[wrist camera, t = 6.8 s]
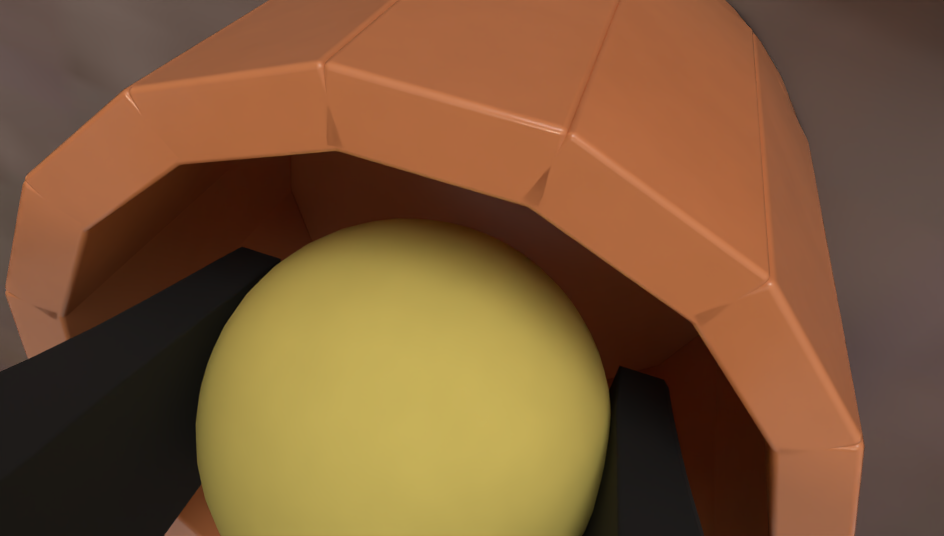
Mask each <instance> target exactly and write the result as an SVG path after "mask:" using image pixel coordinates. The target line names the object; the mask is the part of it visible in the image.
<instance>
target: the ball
mask: <svg viewBox="0 0 944 536" xmlns="http://www.w3.org/2000/svg"><path fill="white" fill-rule="evenodd" d="M610 419H611V406H610V396H609V387H608V383H607V380H606V376H605V372H604V368H603V365H602V361H601V358H600V354H599V351H598V349H597V347H596V344H595V342H594V340H593V338H592V335H591V333H590V331H589V329H588V328H587V326H586V324H585V322H584V320H583V319H582V317H581V315H580V314H579V312H578V311H577V309H576V307H575V306H574V304H573V303H572V301H571V300H570V299H569V298H568V296H567V295H566V294H565V293H564V292H563V290H562V289H561V288H560V287H559V286H558V285H557V284H556V283H555V282H554V281H553V280H552V279H551V278H550V277H549V276H548V275H547V274H546V273H545V272H544V271H543V270H542V269H541V268H540V267H539V266H538V265H536V264H535V263H534V262H533V261H531V260H530V259H529V258H527V257H526V256H525V255H524V254H522V253H521V252H519V251H517V250H516V249H514V248H512V247H511V246H509V245H508V244H506V243H504V242H502V241H500V240H498V239H496V238H494V237H492V236H490V235H488V234H485V233H482V232H480V231H477V230H474V229H471V228H468V227H465V226H461V225H457V224H453V223H449V222H443V221H435V220H428V219H403V218H396V219H387V220H378V221H372V222H368V223H363V224H359V225H355V226H351V227H347V228H343V229H340V230H338V231H336V232H333V233H331V234H329V235H326V236H324V237H322V238H320V239H317V240H315V241H313V242H311V243H309V244H307V245H305V246H304V247H302V248H301V249H299V250H297V251H296V252H294V253H293V254H291V255H290V256H288V257H287V258H286V259H284V260H283V261H281V262H280V263H279V264H277V265H276V266H275V267H273V268H272V269H271V270H270V271H269V272H268V273H267V274H266V275H265V276H264V277H263V278H262V279H261V280H260V281H259V282H258V283H257V284H256V285H255V286H254V287H253V288H252V289H251V290H250V291H249V292H248V293H247V294H246V296H245V297H244V298H243V300H242V301H241V303H240V304H239V306H238V307H237V308H236V310H235V311H234V313H233V314H232V316H231V317H230V318H229V320H228V321H227V323H226V324H225V326H224V327H223V330H222V332H221V334H220V336H219V338H218V340H217V342H216V344H215V346H214V348H213V351H212V353H211V356H210V358H209V361H208V363H207V367H206V370H205V374H204V377H203V380H202V384H201V388H200V394H199V400H198V408H197V416H196V424H195V425H196V450H197V465H198V469H199V474H200V479H201V483H202V488H203V492H204V496H205V500H206V502H207V505H208V507H209V510H210V512H211V515H212V517H213V519H214V522H215V524H216V527H217V529H218V531H219V533H220V535H221V536H582V535H583V533H584V532H585V530H586V527H587V525H588V522H589V520H590V517H591V515H592V512H593V509H594V505H595V501H596V498H597V494H598V490H599V486H600V482H601V478H602V474H603V469H604V464H605V458H606V451H607V445H608V439H609V431H610Z"/></svg>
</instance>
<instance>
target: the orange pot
mask: <svg viewBox="0 0 944 536" xmlns="http://www.w3.org/2000/svg"><path fill="white" fill-rule="evenodd" d="M396 218H403V219H428V220H435V221H443V222H449V223H453V224H457V225H461V226H465V227H468V228H471V229H474V230H477V231H480V232H482V233H485V234H488V235H490V236H492V237H494V238H496V239H498V240H500V241H502V242H504V243H506V244H508V245H509V246H511V247H512V248H514V249H516V250H517V251H519V252H521V253H522V254H524V255H525V256H526V257H527V258H529V259H530V260H531V261H533V262H534V263H535V264H536V265H538V266H539V267H540V268H541V269H542V270H543V271H544V272H545V273H546V274H547V275H548V276H549V277H550V278H551V279H552V280H553V281H554V282H555V283H556V284H557V285H558V286H559V287H560V288H561V289H562V290H563V292H564V293H565V294H566V295H567V296H568V298H569V299H570V300H571V301H572V303H573V304H574V306H575V307H576V309H577V311H578V312H579V314H580V315H581V317H582V319H583V320H584V322H585V324H586V326H587V328H588V329H589V331H590V333H591V335H592V338H593V340H594V342H595V344H596V347H597V349H598V351H599V354H600V358H601V361H602V365H603V368H604V372H605V376H606V380H607V383H608V387H609V389H610V387H611V384H612V382H613V380H614V377H615V375H616V373H617V370H618V368H619V366H622V367H626V368H629V369H632V370H635V371H638V372H641V373H645V374H648V375H651V376H654V377H657V378H660V379H664V380H665V382H666V384H667V386H668V387H669V392H670V398H671V404H672V410H673V415H674V421H675V426H676V430H677V435H678V440H679V444H680V448H681V453H682V457H683V461H684V465H685V469H686V473H687V477H688V481H689V484H690V488H691V492H692V496H693V499H694V502H695V506H696V509H697V512H698V516H699V519H700V523H701V526H702V529H703V533H704V536H855V531H856V521H857V512H858V503H859V494H860V485H861V476H862V466H863V457H864V448H865V445H864V440H863V434H862V429H861V424H860V418H859V413H858V407H857V402H856V397H855V391H854V386H853V380H852V375H851V369H850V364H849V359H848V353H847V348H846V342H845V337H844V332H843V326H842V321H841V315H840V310H839V305H838V299H837V294H836V288H835V283H834V277H833V272H832V267H831V261H830V256H829V250H828V245H827V240H826V234H825V229H824V223H823V218H822V213H821V207H820V202H819V196H818V191H817V185H816V180H815V175H814V169H813V164H812V158H811V153H810V149H809V144H808V141H807V139H806V136H805V134H804V132H803V130H802V128H801V126H800V124H799V122H798V120H797V117H796V113H795V111H794V108H793V106H792V103H791V101H790V98H789V95H788V93H787V90H786V88H785V85H784V83H783V80H782V77H781V76H780V74H779V72H778V71H777V69H776V67H775V65H774V64H773V62H772V60H771V59H770V57H769V55H768V53H767V52H766V50H765V48H764V47H763V45H762V43H761V42H760V40H759V39H758V38H757V36H756V35H755V34H754V33H753V31H752V29H751V28H750V27H749V26H748V25H747V24H746V23H745V22H744V20H743V19H742V18H741V17H740V16H739V14H738V13H737V12H736V11H735V9H734V8H733V7H732V6H731V5H730V4H729V3H727V2H726V1H725V0H269V1H267V2H265V3H264V4H262V5H260V6H259V7H257V8H256V9H254V10H252V11H251V12H249V13H247V14H246V15H244V16H243V17H241V18H239V19H238V20H236V21H234V22H233V23H231V24H230V25H228V26H226V27H225V28H223V29H221V30H220V31H218V32H217V33H215V34H213V35H212V36H210V37H208V38H207V39H205V40H203V41H202V42H200V43H199V44H197V45H195V46H194V47H192V48H190V49H189V50H187V51H186V52H184V53H182V54H181V55H179V56H177V57H176V58H174V59H173V60H171V61H169V62H168V63H166V64H164V65H163V66H161V67H160V68H158V69H156V70H155V71H153V72H151V73H150V74H148V75H147V76H145V77H143V78H142V79H140V80H138V81H137V82H135V83H134V84H132V85H130V86H129V87H127V88H125V89H124V90H123V91H121V92H120V93H119V94H118V95H117V96H116V97H115V98H114V99H112V100H111V101H110V102H109V103H108V104H107V105H106V106H104V107H103V108H102V109H101V110H100V111H99V112H98V113H96V114H95V115H94V116H93V117H92V118H91V119H90V120H88V121H87V122H86V123H85V124H84V125H83V126H82V127H80V128H79V129H78V130H77V131H76V132H75V133H74V134H73V135H71V136H70V137H69V138H68V139H67V140H66V141H65V142H63V143H62V144H61V145H60V146H59V147H58V148H57V149H55V150H54V151H53V152H52V153H51V154H50V155H49V156H47V157H46V158H45V159H44V160H43V161H42V162H41V163H40V164H38V165H37V166H36V167H35V168H34V169H33V170H32V171H30V172H29V173H28V174H27V176H26V177H25V181H24V183H23V186H22V192H21V198H20V204H19V209H18V215H17V221H16V227H15V233H14V238H13V244H12V250H11V256H10V262H9V267H8V273H7V279H6V285H5V288H6V292H5V295H6V298H7V301H8V303H9V306H10V309H11V312H12V315H13V318H14V321H15V324H16V327H17V329H18V332H19V335H20V338H21V341H22V344H23V347H24V350H25V352H26V355H27V358H28V359H29V358H31V357H34V356H36V355H38V354H40V353H42V352H44V351H46V350H48V349H50V348H52V347H54V346H56V345H58V344H60V343H62V342H64V341H66V340H69V339H71V338H73V337H75V336H77V335H79V334H81V333H83V332H85V331H87V330H89V329H91V328H93V327H95V326H97V325H99V324H101V323H103V322H105V321H107V320H108V319H110V318H112V317H114V316H116V315H118V314H120V313H121V312H123V311H125V310H127V309H129V308H131V307H133V306H135V305H136V304H138V303H140V302H142V301H144V300H146V299H148V298H150V297H151V296H153V295H155V294H157V293H159V292H160V291H162V290H164V289H166V288H168V287H169V286H171V285H173V284H175V283H177V282H178V281H180V280H182V279H184V278H186V277H187V276H189V275H191V274H193V273H195V272H196V271H198V270H200V269H202V268H204V267H205V266H207V265H209V264H211V263H213V262H214V261H216V260H218V259H220V258H222V257H224V256H225V255H227V254H229V253H231V252H233V251H235V250H236V249H238V248H240V247H245V248H248V249H251V250H254V251H258V252H261V253H264V254H267V255H270V256H273V257H277V258H280V259H281V261H283V260H284V259H286V258H287V257H288V256H290V255H291V254H293V253H294V252H296V251H297V250H299V249H301V248H302V247H304V246H305V245H307V244H309V243H311V242H313V241H315V240H317V239H320V238H322V237H324V236H326V235H329V234H331V233H333V232H336V231H338V230H340V229H343V228H347V227H351V226H355V225H359V224H363V223H368V222H372V221H378V220H387V219H396ZM165 536H221V535H220V533H219V531H218V529H217V527H216V524H215V522H214V519H213V517H212V515H211V512H210V510H209V507H208V505H207V502H206V500H205V496H204V492H203V488H202V484H201V485H200V487H199V488H198V490H197V491H196V492H195V494H194V495H193V496H192V498H191V499H190V501H189V502H188V503H187V505H186V506H185V508H184V509H183V510H182V512H181V513H180V514H179V516H178V517H177V519H176V520H175V521H174V523H173V524H172V525H171V527H170V528H169V530H168V531H167V532H166V534H165Z"/></svg>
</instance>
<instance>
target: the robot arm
mask: <svg viewBox="0 0 944 536" xmlns="http://www.w3.org/2000/svg"><path fill="white" fill-rule="evenodd" d="M280 262H281V259H280V258H277V257H273V256H270V255H267V254H264V253H261V252H258V251H254V250H251V249H248V248H245V247H240V248H238V249H236V250H235V251H233V252H231V253H229V254H227V255H225V256H224V257H222V258H220V259H218V260H216V261H214V262H213V263H211V264H209V265H207V266H205V267H204V268H202V269H200V270H198V271H196V272H195V273H193V274H191V275H189V276H187V277H186V278H184V279H182V280H180V281H178V282H177V283H175V284H173V285H171V286H169V287H168V288H166V289H164V290H162V291H160V292H159V293H157V294H155V295H153V296H151V297H150V298H148V299H146V300H144V301H142V302H140V303H138V304H136V305H135V306H133V307H131V308H129V309H127V310H125V311H123V312H121V313H120V314H118V315H116V316H114V317H112V318H110V319H108V320H107V321H105V322H103V323H101V324H99V325H97V326H95V327H93V328H91V329H89V330H87V331H85V332H83V333H81V334H79V335H77V336H75V337H73V338H71V339H69V340H66V341H64V342H62V343H60V344H58V345H56V346H54V347H52V348H50V349H48V350H46V351H44V352H42V353H40V354H38V355H36V356H34V357H31V358H29V359H27V360H25V361H23V362H21V363H19V364H17V365H14V366H12V367H10V368H8V369H5V370H3V371H1V372H0V536H164V535H165V534H166V532H167V531H168V530H169V528H170V527H171V525H172V524H173V523H174V521H175V520H176V519H177V517H178V516H179V514H180V513H181V512H182V510H183V509H184V508H185V506H186V505H187V503H188V502H189V501H190V499H191V498H192V496H193V495H194V494H195V492H196V491H197V490H198V488H199V487H200V485H201V484H202V483H201V479H200V474H199V469H198V465H197V450H196V425H195V424H196V416H197V408H198V400H199V394H200V388H201V384H202V380H203V377H204V374H205V370H206V367H207V363H208V361H209V358H210V356H211V353H212V351H213V348H214V346H215V344H216V342H217V340H218V338H219V336H220V334H221V332H222V330H223V327H224V326H225V324H226V323H227V321H228V320H229V318H230V317H231V316H232V314H233V313H234V311H235V310H236V308H237V307H238V306H239V304H240V303H241V301H242V300H243V298H244V297H245V296H246V294H247V293H248V292H249V291H250V290H251V289H252V288H253V287H254V286H255V285H256V284H257V283H258V282H259V281H260V280H261V279H262V278H263V277H264V276H265V275H266V274H267V273H268V272H269V271H270V270H271V269H272V268H273V267H275V266H276V265H277V264H279V263H280ZM609 396H610V406H611V419H610V431H609V439H608V445H607V451H606V458H605V464H604V469H603V474H602V478H601V482H600V486H599V490H598V494H597V498H596V501H595V505H594V509H593V512H592V515H591V517H590V520H589V522H588V525H587V527H586V530H585V532H584V533H583V535H582V536H704V533H703V529H702V526H701V523H700V519H699V516H698V512H697V509H696V506H695V502H694V499H693V496H692V492H691V488H690V484H689V481H688V477H687V473H686V469H685V465H684V461H683V457H682V453H681V448H680V444H679V440H678V435H677V430H676V426H675V421H674V415H673V410H672V404H671V398H670V392H669V387H668V386H667V384H666V382H665V380H664V379H660V378H657V377H654V376H651V375H648V374H645V373H641V372H638V371H635V370H632V369H629V368H626V367H622V366H619V368H618V370H617V373H616V375H615V377H614V380H613V382H612V384H611V387H610V389H609Z"/></svg>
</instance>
